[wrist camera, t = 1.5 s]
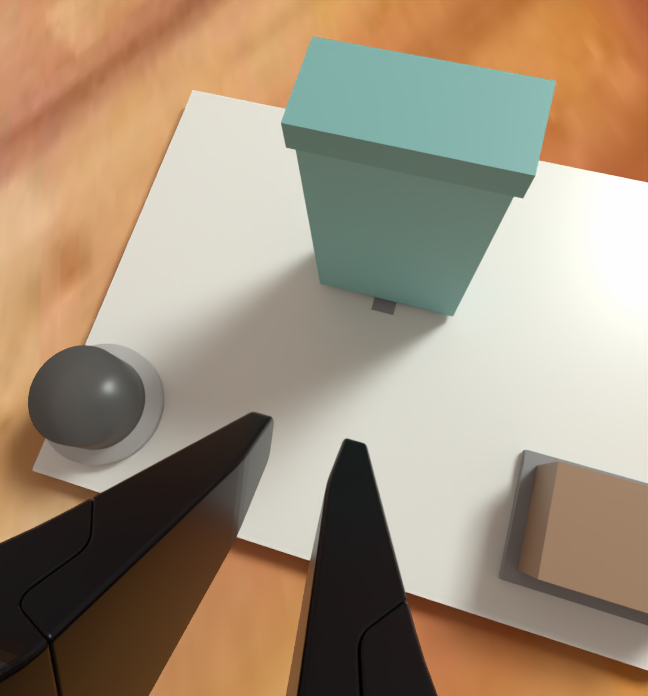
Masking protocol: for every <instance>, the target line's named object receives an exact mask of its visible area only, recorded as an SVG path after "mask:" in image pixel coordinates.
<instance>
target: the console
mask: <svg viewBox="0 0 648 696" xmlns="http://www.w3.org/2000/svg"><path fill="white" fill-rule="evenodd" d="M285 110H286V109H283V108H279V107H274V106H269V105H264V104H259V103H254V102H249V101H244V100H239V99H235V98H230V97H225V96H220V95H215V94H210V93H205V92H200V91H195V90H193V91H192V93H191V96H190V98H189V100H188V103H187V105H186V107H185V110H184V112H183V115H182V117H181V119H180V122H179V124H178V126H177V129H176V131H175V133H174V136H173V138H172V141H171V143H170V145H169V148H168V150H167V152H166V155H165V157H164V159H163V162H162V164H161V166H160V169H159V171H158V174H157V176H156V178H155V181H154V183H153V185H152V188H151V190H150V192H149V195H148V197H147V200H146V202H145V204H144V207H143V209H142V211H141V214H140V216H139V218H138V221H137V223H136V226H135V228H134V230H133V233H132V235H131V237H130V240H129V242H128V244H127V247H126V249H125V252H124V254H123V256H122V259H121V261H120V263H119V266H118V268H117V270H116V273H115V275H114V278H113V280H112V282H111V285H110V287H109V289H108V292H107V294H106V296H105V299H104V301H103V304H102V306H101V308H100V311H99V313H98V315H97V318H96V320H95V322H94V325H93V327H92V329H91V332H90V334H89V337H88V339H87V341H86V344H85V345H82V346H74V347H70V348H67V349H65V350H63V351H60V352H59V353H57V354H55V355H54V356H52V357H51V358H50V359H49V360H48V361H47V362H45V363H44V365H43V366H42V367H41V368H40V369H39V371H38V372H37V374H36V376H35V377H34V379H33V382H32V384H31V387H30V391H29V397H28V408H29V414H30V417H31V420H32V422H33V424H34V426H35V427H36V429H37V430H38V431H39V433H40V434H41V435H43V436H44V437H45V441H44V443H43V445H42V448H41V450H40V452H39V455H38V457H37V459H36V462H35V464H34V467H33V469H32V471H35V472H38V473H41V474H44V475H47V476H50V477H53V478H56V479H60V480H63V481H66V482H69V483H72V484H75V485H78V486H81V487H84V488H87V489H90V490H93V491H97V492H100V493H101V492H103V491H105V490H107V489H109V488H111V487H112V486H114V485H116V484H118V483H120V482H122V481H124V480H125V479H127V478H129V477H131V476H133V475H135V474H137V473H138V472H140V471H142V470H144V469H146V468H148V467H150V466H151V465H153V464H155V463H157V462H159V461H161V460H163V459H164V458H166V457H168V456H170V455H172V454H174V453H175V452H177V451H179V450H181V449H183V448H185V447H187V446H188V445H190V444H192V443H194V442H196V441H198V440H200V439H201V438H203V437H205V436H207V435H209V434H211V433H213V432H214V431H216V430H218V429H220V428H222V427H224V426H225V425H227V424H229V423H231V422H233V421H235V420H237V419H238V418H240V417H242V416H244V415H246V414H248V413H250V412H258V413H261V414H265V415H268V416H271V417H272V418H273V420H274V427H273V434H272V442H271V449H270V455H269V459H268V462H267V465H266V467H265V470H264V472H263V474H262V477H261V479H260V482H259V484H258V487H257V489H256V492H255V494H254V497H253V499H252V501H251V504H250V506H249V509H248V511H247V514H246V516H245V519H244V521H243V524H242V526H241V528H240V530H239V533H238V535H237V537H238V538H241V539H244V540H247V541H251V542H254V543H257V544H260V545H263V546H266V547H269V548H272V549H275V550H278V551H281V552H284V553H287V554H291V555H294V556H297V557H300V558H303V559H306V560H309V561H310V558H311V554H312V549H313V544H314V540H315V535H316V530H317V526H318V521H319V516H320V512H321V507H322V502H323V498H324V493H325V489H326V484H327V481H328V478H329V475H330V472H331V470H332V467H333V464H334V462H335V459H336V457H337V454H338V452H339V449H340V447H341V444H342V442H343V440H344V439H346V438H348V439H352V440H355V441H359V442H362V443H365V444H366V445H367V448H368V451H369V455H370V459H371V463H372V467H373V470H374V474H375V478H376V482H377V486H378V489H379V493H380V497H381V501H382V505H383V509H384V512H385V516H386V520H387V524H388V528H389V531H390V535H391V539H392V543H393V547H394V551H395V554H396V558H397V562H398V566H399V570H400V573H401V577H402V581H403V585H404V589H405V592H408V593H411V594H414V595H417V596H420V597H423V598H426V599H429V600H432V601H435V602H438V603H442V604H445V605H448V606H451V607H454V608H457V609H460V610H463V611H466V612H469V613H472V614H475V615H478V616H482V617H485V618H488V619H491V620H494V621H497V622H500V623H503V624H506V625H509V626H512V627H515V628H519V629H522V630H525V631H528V632H531V633H534V634H537V635H540V636H543V637H546V638H549V639H552V640H555V641H559V642H562V643H565V644H568V645H571V646H574V647H577V648H580V649H583V650H586V651H589V652H592V653H596V654H599V655H602V656H605V657H608V658H611V659H614V660H617V661H620V662H623V663H626V664H629V665H632V666H636V667H639V668H642V669H645V670H648V183H646V182H641V181H636V180H631V179H626V178H622V177H617V176H612V175H607V174H602V173H597V172H592V171H587V170H582V169H577V168H573V167H568V166H563V165H558V164H553V163H548V162H543V161H539V162H538V166H537V171H536V176H535V178H534V179H533V181H532V183H531V185H530V187H529V189H528V190H527V192H526V194H525V196H524V198H518V197H514V198H513V199H512V201H511V203H510V205H509V207H508V209H507V211H506V213H505V215H504V217H503V219H502V221H501V223H500V225H499V227H498V229H497V231H496V233H495V235H494V237H493V239H492V241H491V243H490V245H489V247H488V249H487V251H486V253H485V255H484V257H483V258H482V260H481V262H480V264H479V266H478V268H477V270H476V272H475V274H474V276H473V278H472V280H471V282H470V284H469V286H468V288H467V290H466V292H465V294H464V296H463V298H462V300H461V302H460V304H459V306H458V308H457V310H456V312H455V314H454V316H449V315H445V314H441V313H437V312H433V311H429V310H425V309H421V308H417V307H413V306H409V305H405V304H401V303H397V302H393V301H389V300H385V299H381V298H377V297H373V296H369V295H365V294H361V293H357V292H353V291H349V290H345V289H341V288H337V287H333V286H329V285H324V284H320V280H319V275H318V269H317V264H316V258H315V253H314V248H313V242H312V237H311V231H310V226H309V220H308V215H307V210H306V204H305V199H304V193H303V188H302V182H301V177H300V171H299V166H298V161H297V155H296V150H294V149H290V148H286V146H285V141H284V136H283V131H282V126H281V121H282V118H283V115H284V112H285Z"/></svg>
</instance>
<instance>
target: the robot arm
mask: <svg viewBox="0 0 648 696" xmlns="http://www.w3.org/2000/svg"><path fill="white" fill-rule="evenodd" d="M273 427H274V420H273V418H272V417H271V416H268V415H265V414H261V413H258V412H250V413H248V414H246V415H244V416H242V417H240V418H238V419H237V420H235V421H233V422H231V423H229V424H227V425H225V426H224V427H222V428H220V429H218V430H216V431H214V432H213V433H211V434H209V435H207V436H205V437H203V438H201V439H200V440H198V441H196V442H194V443H192V444H190V445H188V446H187V447H185V448H183V449H181V450H179V451H177V452H175V453H174V454H172V455H170V456H168V457H166V458H164V459H163V460H161V461H159V462H157V463H155V464H153V465H151V466H150V467H148V468H146V469H144V470H142V471H140V472H138V473H137V474H135V475H133V476H131V477H129V478H127V479H125V480H124V481H122V482H120V483H118V484H116V485H114V486H112V487H111V488H109V489H107V490H105V491H103V492H101V493H100V494H98V495H96V496H94V497H93V501H92V500H91V499H88V500H86V501H84V502H82V503H81V504H79V505H77V506H75V507H73V508H71V509H70V510H68V511H66V512H64V513H62V514H60V515H58V516H56V517H54V518H52V519H50V520H48V521H46V522H44V523H42V524H40V525H38V526H36V527H34V528H32V529H30V530H28V531H25V532H23V533H21V534H19V535H17V536H15V537H12V538H10V539H8V540H6V541H4V542H2V543H0V696H149V694H150V692H151V691H152V689H153V687H154V685H155V683H156V682H157V680H158V678H159V676H160V674H161V673H162V671H163V669H164V667H165V665H166V664H167V662H168V660H169V658H170V657H171V655H172V653H173V651H174V649H175V648H176V646H177V644H178V642H179V640H180V639H181V637H182V635H183V633H184V631H185V630H186V628H187V626H188V624H189V622H190V621H191V619H192V617H193V615H194V613H195V612H196V610H197V608H198V606H199V604H200V603H201V601H202V599H203V597H204V595H205V594H206V592H207V590H208V588H209V586H210V585H211V583H212V581H213V579H214V577H215V576H216V574H217V572H218V570H219V568H220V567H221V565H222V563H223V561H224V560H225V558H226V556H227V554H228V552H229V551H230V549H231V547H232V545H233V543H234V541H235V539H236V537H237V535H238V533H239V530H240V528H241V526H242V524H243V521H244V519H245V516H246V514H247V511H248V509H249V506H250V504H251V501H252V499H253V497H254V494H255V492H256V489H257V487H258V484H259V482H260V479H261V477H262V474H263V472H264V470H265V467H266V465H267V462H268V459H269V455H270V449H271V442H272V434H273ZM286 696H438V695H437V693H436V690H435V687H434V684H433V682H432V679H431V676H430V673H429V671H428V668H427V665H426V663H425V660H424V656H423V653H422V649H421V646H420V643H419V639H418V636H417V633H416V629H415V626H414V622H413V618H412V615H411V611H410V607H409V604H408V603H407V596H406V593H405V589H404V585H403V581H402V577H401V573H400V570H399V566H398V562H397V558H396V554H395V551H394V547H393V543H392V539H391V535H390V531H389V528H388V524H387V520H386V516H385V512H384V509H383V505H382V501H381V497H380V493H379V489H378V486H377V482H376V478H375V474H374V470H373V467H372V463H371V459H370V455H369V451H368V448H367V445H366V444H365V443H362V442H359V441H355V440H352V439H348V438H346V439H344V440H343V442H342V444H341V447H340V449H339V452H338V454H337V457H336V459H335V462H334V464H333V467H332V470H331V472H330V475H329V478H328V481H327V484H326V489H325V493H324V498H323V502H322V507H321V512H320V516H319V521H318V526H317V530H316V535H315V540H314V544H313V549H312V554H311V558H310V563H309V568H308V573H307V578H306V584H305V590H304V596H303V601H302V607H301V613H300V619H299V624H298V630H297V636H296V642H295V647H294V653H293V659H292V665H291V670H290V676H289V682H288V688H287V693H286Z"/></svg>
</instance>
